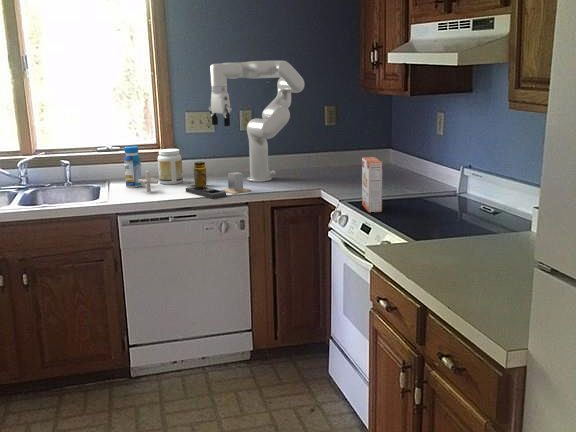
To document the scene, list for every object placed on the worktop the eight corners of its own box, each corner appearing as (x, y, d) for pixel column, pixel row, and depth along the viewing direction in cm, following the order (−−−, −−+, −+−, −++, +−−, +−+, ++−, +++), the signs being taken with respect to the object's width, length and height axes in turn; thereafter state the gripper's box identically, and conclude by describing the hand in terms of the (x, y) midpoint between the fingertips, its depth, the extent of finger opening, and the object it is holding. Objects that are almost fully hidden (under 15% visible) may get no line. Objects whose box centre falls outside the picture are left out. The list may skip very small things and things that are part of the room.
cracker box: (361, 205, 279) (361, 156, 274) (375, 204, 280) (375, 156, 275) (367, 213, 266) (368, 162, 261) (382, 212, 266) (383, 161, 261)
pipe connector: (163, 190, 319) (161, 169, 317) (152, 194, 310) (151, 173, 308) (145, 189, 322) (143, 169, 320) (134, 193, 313) (132, 172, 311)
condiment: (209, 186, 327) (208, 162, 324) (194, 188, 323) (193, 164, 320) (203, 183, 333) (202, 160, 330) (188, 185, 329) (186, 162, 326)
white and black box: (236, 188, 317) (236, 172, 315) (243, 189, 313) (242, 173, 311) (228, 189, 314) (227, 173, 312) (234, 191, 310) (234, 174, 308)
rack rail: (199, 189, 319) (199, 185, 318) (226, 196, 303) (226, 191, 302) (185, 191, 314) (185, 187, 313) (212, 198, 298) (212, 194, 297)
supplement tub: (179, 179, 346) (177, 147, 342) (186, 183, 335) (184, 150, 331) (156, 181, 341) (154, 149, 337) (162, 185, 330) (160, 152, 326)
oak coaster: (237, 188, 320) (237, 186, 320) (250, 190, 313) (250, 189, 313) (221, 191, 314) (221, 189, 314) (233, 194, 307) (233, 192, 307)
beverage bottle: (143, 186, 328) (140, 147, 323) (126, 188, 326) (123, 148, 321) (141, 183, 336) (139, 145, 331) (125, 185, 333) (121, 146, 329)
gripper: (236, 89, 312) (238, 125, 317) (214, 89, 325) (216, 123, 329) (223, 90, 307) (225, 127, 312) (202, 89, 320) (204, 124, 324)
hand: (220, 125), depth 320 cm, fingers open, 9 cm apart
